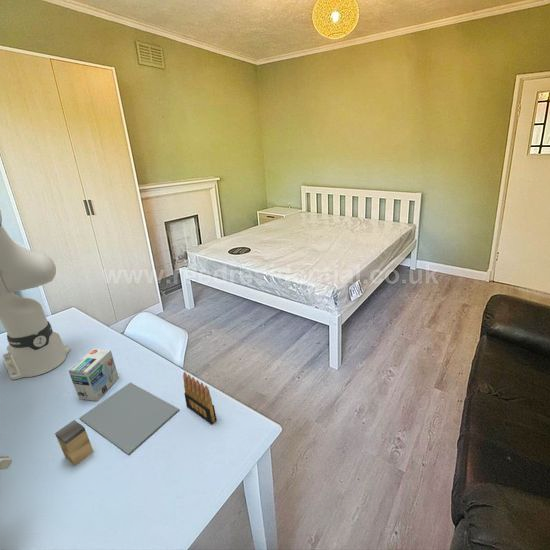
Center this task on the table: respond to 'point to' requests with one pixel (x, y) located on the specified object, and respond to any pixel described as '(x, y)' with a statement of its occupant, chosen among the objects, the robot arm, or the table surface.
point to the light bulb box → (94, 374)
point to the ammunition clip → (199, 399)
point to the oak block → (74, 442)
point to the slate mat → (129, 417)
